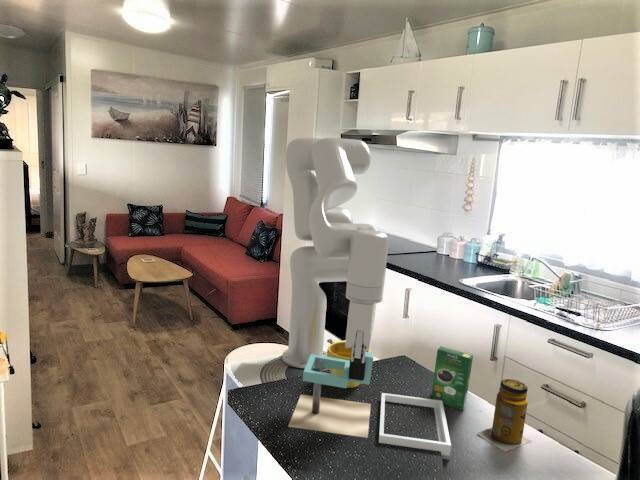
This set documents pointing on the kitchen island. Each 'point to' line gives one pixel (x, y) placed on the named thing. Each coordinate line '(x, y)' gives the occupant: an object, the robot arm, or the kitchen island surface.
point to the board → (332, 416)
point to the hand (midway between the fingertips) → (356, 375)
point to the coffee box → (451, 377)
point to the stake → (317, 388)
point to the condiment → (508, 416)
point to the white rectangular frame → (440, 445)
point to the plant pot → (341, 352)
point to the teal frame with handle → (338, 365)
